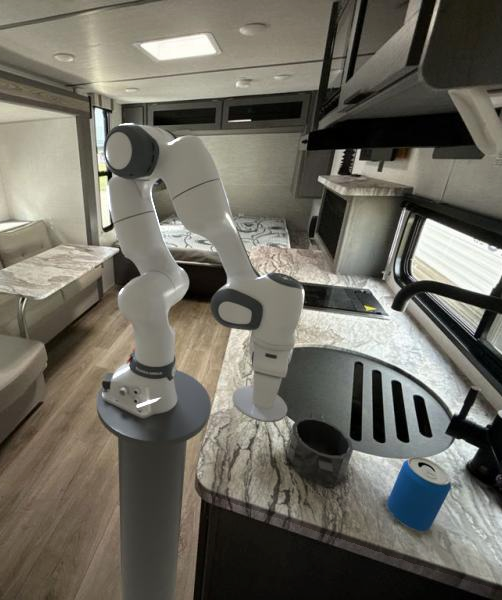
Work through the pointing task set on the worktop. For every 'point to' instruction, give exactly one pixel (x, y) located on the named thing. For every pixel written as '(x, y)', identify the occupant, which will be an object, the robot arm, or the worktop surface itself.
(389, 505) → the beverage can
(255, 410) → the pot lid
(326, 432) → the pot
